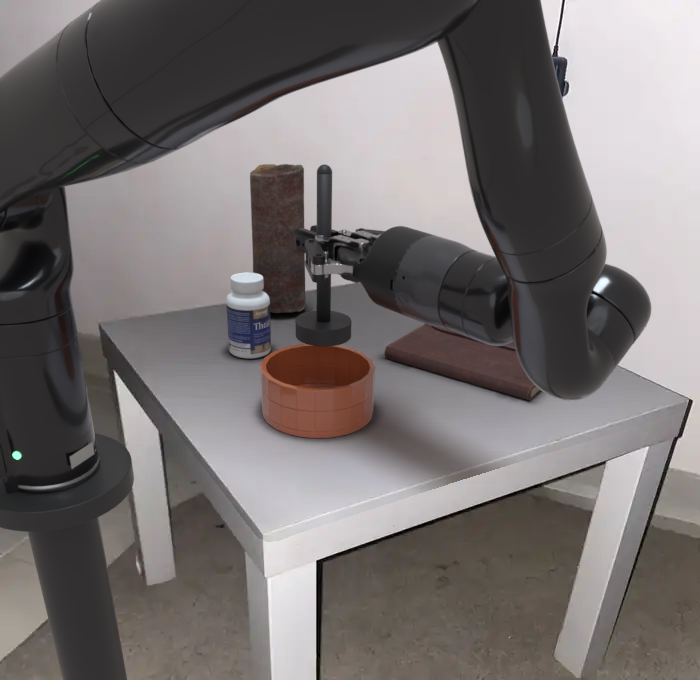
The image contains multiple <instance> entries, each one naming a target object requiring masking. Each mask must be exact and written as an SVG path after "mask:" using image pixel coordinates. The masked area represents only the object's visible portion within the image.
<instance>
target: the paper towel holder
mask: <svg viewBox="0 0 700 680" xmlns="http://www.w3.org/2000/svg"><path fill="white" fill-rule="evenodd" d="M332 217H333V169H332V168H331V166H330V165H328V164H320V166H318V167H317V170H316V225H317V233H319V234H323V235H325V236H329V237H332V229H333V227H332V226H333V225H332V224H333V218H332ZM327 252H328V256H329V247H328V250H327ZM331 306H332V274H328V277H327V278H325V282H323V283H316V310H310V311H306V312H302V313H300V314H299V315H297V317H296V318H295V338H296V339H297V340H298V341H299V342H300V343H301V344H308V345H313V346H336V345H340V346H341V345H343V344H345V343H348V341H350V340H351V338H352V318H351V317H350V316H349V315H348V314H345V313H343V312H340V311H335V310H332V309H331V308H332V307H331Z"/></svg>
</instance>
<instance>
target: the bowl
mask: <svg viewBox="0 0 700 680" xmlns="http://www.w3.org/2000/svg"><path fill="white" fill-rule="evenodd" d="M259 366H260V392H261V393H260V396H261V409H262V412H261V413H262V417H263V419H264V420H265V422H266V423H267V424H268V425H269V426H271V427H272V428H273V429H275V430H277V431H279V432H281V433H284V434H287V435H291V436H295V437H299V438H305V439H306V438H308V439H330V438H337V437H343V436H346V435H350V434H353V433H355V432H357V431H359V430H361V429H362V428H364V427H365V426H367V425H368V424H369V423H370V421H371V420H372V418H373V414H374V407H375V387H376V371H377V370H376V366H375V363H374V361H373V359H371V358H370V357H369V356H368V355H367V354H366V353H364V352H362V351H359V350H357V349H355V348H352V347H348V346H345V345H341V344H340V345H336V346H313V345H308V344H305V343H301V344H295V345H289V346H286V347H282V348H279V349H276V350H274V351H272V352H271V353H268V354H267V355H265V356H264V358H263V359H262V361H261V362H260V365H259Z"/></svg>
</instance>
